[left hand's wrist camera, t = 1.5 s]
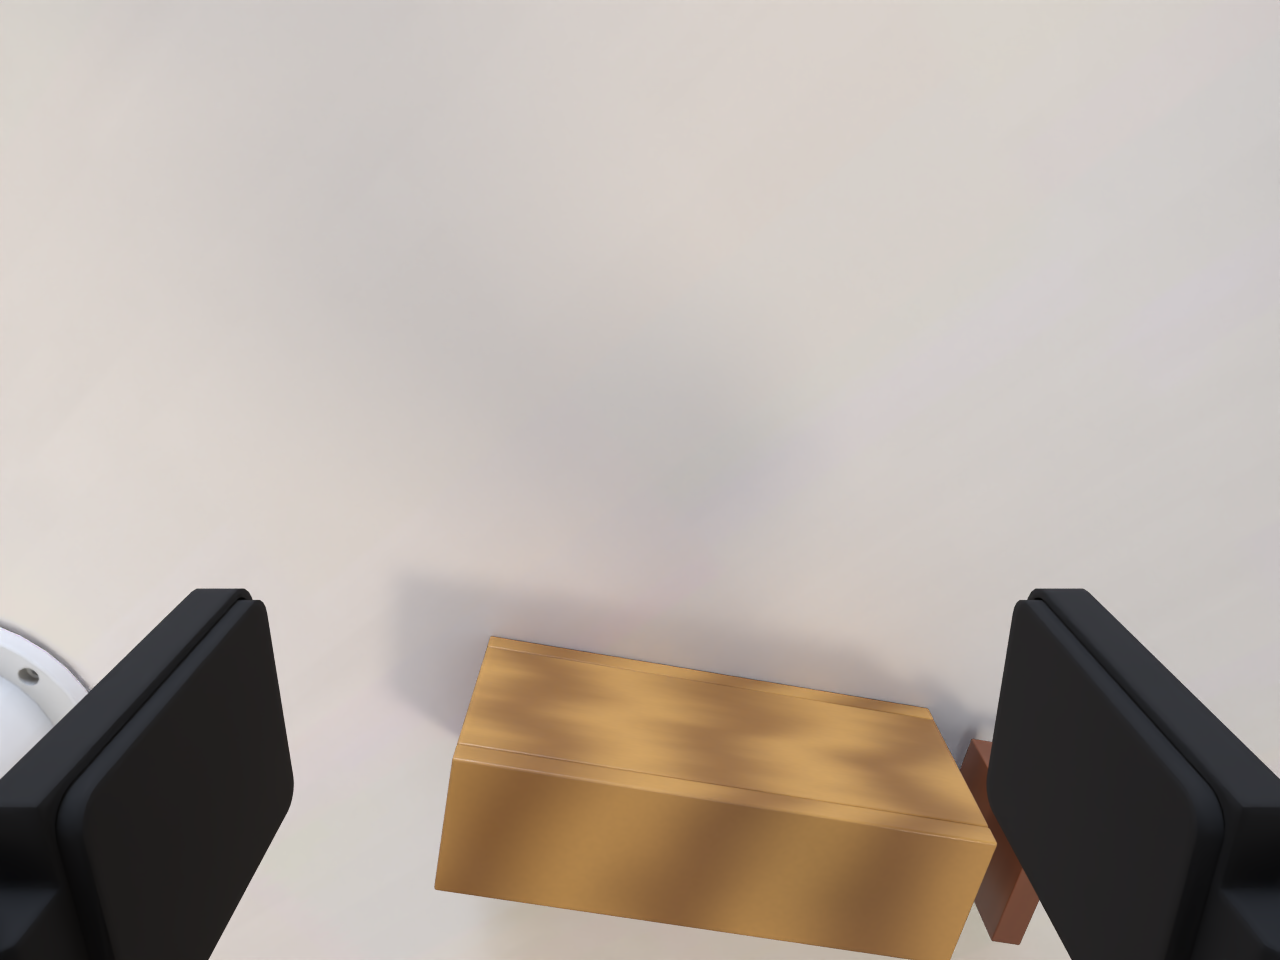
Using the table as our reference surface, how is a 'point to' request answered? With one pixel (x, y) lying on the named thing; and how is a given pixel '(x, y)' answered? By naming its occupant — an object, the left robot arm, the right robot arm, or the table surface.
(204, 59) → the table surface
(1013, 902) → the drawer
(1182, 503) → the table surface
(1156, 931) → the left robot arm
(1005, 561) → the table surface
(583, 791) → the cabinet
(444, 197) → the table surface
